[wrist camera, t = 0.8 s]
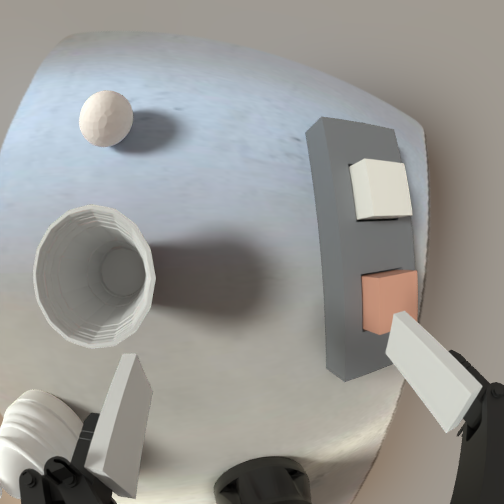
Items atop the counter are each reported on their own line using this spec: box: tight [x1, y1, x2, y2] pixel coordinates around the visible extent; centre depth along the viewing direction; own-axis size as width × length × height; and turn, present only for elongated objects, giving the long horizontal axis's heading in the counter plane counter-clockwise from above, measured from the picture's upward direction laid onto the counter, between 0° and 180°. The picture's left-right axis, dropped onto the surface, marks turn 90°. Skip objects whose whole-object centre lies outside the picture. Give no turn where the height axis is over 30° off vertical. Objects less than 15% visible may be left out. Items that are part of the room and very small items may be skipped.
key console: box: [305, 117, 415, 382], centre depth 33 cm, size 32×12×5 cm, turn 6°
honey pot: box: [0, 389, 83, 499], centre depth 16 cm, size 13×13×18 cm
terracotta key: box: [361, 270, 418, 335], centre depth 30 cm, size 6×6×4 cm
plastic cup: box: [33, 204, 156, 349], centre depth 23 cm, size 11×11×12 cm
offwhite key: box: [349, 159, 412, 220], centre depth 30 cm, size 6×6×4 cm
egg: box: [79, 91, 133, 147], centre depth 25 cm, size 6×6×8 cm
